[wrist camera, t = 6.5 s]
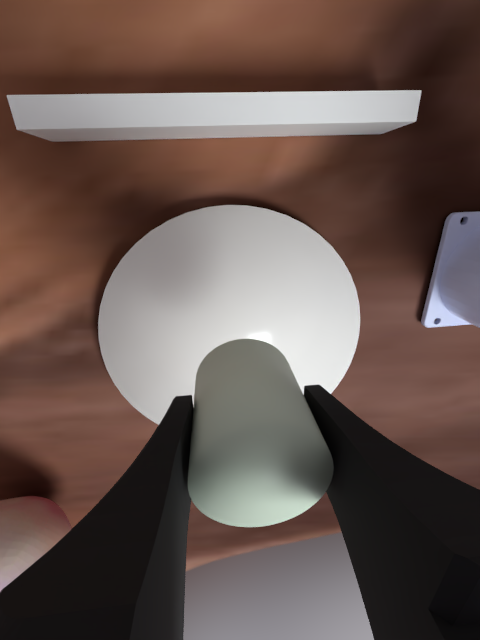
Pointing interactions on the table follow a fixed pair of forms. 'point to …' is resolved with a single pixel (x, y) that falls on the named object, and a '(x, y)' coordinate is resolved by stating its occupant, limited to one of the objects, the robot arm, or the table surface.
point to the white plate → (225, 302)
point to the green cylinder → (254, 439)
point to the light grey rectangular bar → (212, 114)
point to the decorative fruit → (27, 533)
